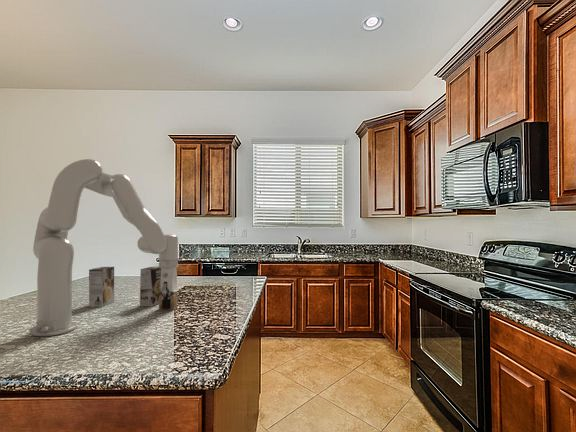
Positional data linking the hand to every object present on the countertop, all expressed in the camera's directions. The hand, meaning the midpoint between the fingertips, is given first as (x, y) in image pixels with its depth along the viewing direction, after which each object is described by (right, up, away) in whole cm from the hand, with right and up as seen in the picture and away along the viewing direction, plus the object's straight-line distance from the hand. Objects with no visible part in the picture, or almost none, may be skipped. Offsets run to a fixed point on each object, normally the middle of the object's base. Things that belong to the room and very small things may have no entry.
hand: (168, 306), depth 140 cm
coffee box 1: (-32, -1, +7) cm, 33 cm away
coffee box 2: (-10, -1, +8) cm, 13 cm away
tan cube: (0, -1, 0) cm, 1 cm away
